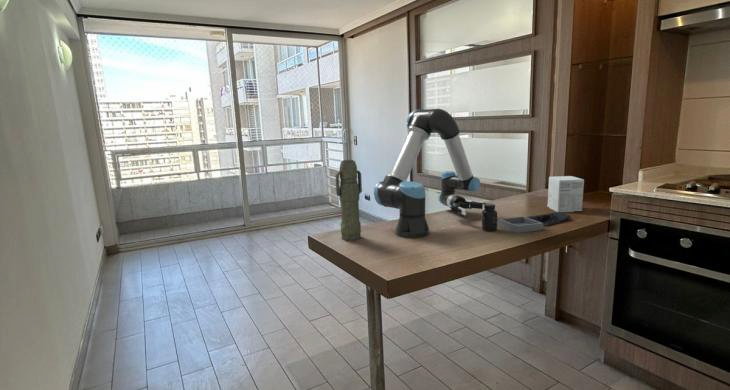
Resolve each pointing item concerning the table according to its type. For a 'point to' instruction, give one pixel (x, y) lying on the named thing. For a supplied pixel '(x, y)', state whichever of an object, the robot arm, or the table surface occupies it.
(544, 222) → the dark slate chunk
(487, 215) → the supplement bottle
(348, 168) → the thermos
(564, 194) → the supplement box
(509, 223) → the tray
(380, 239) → the table surface
